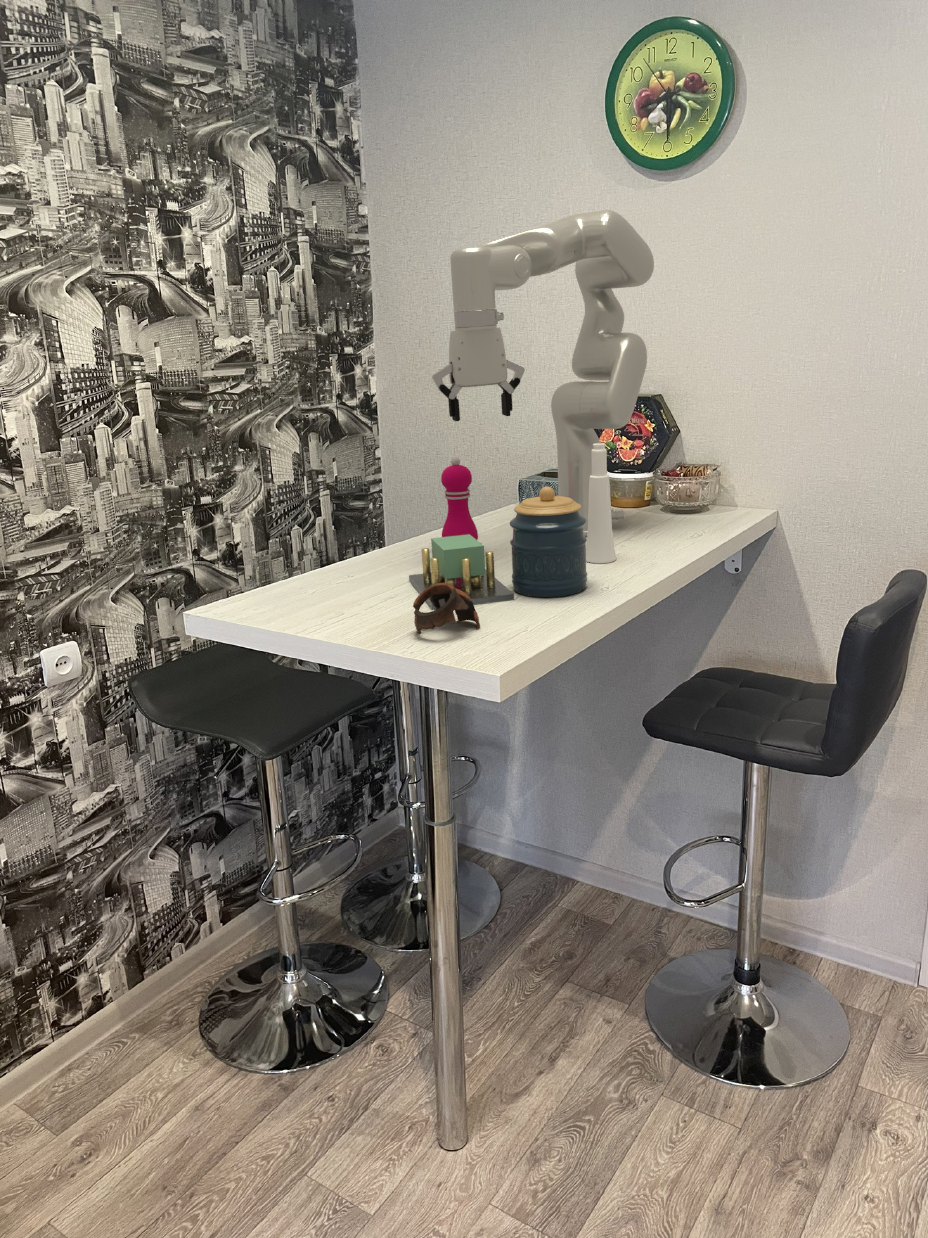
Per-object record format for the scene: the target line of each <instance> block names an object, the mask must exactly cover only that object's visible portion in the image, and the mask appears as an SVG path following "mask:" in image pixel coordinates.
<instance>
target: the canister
mask: <svg viewBox="0 0 928 1238" xmlns="http://www.w3.org/2000/svg"><path fill="white" fill-rule="evenodd" d="M538 494H539V495H538V496H534V497H530V498H526V499H523V500H522V501H521V502H520V503H519V504H517V505H516V506H514V508H513V510H514V512H515V513H516V515H515V517H514V518H512V519H511V520H510V521H509V526H510V527H511V528H512V539H511V540H510V545H511V561H512V562H511V565H512V569H511V570H512V574H511V583H512V585H513V590H514V591H515V592H516V593H518V594H520V595H524V596H528V597H534V598H556V597H557V598H559V597H565V596H571V595H575V594H578V593H580V592H583V590H585V589H586V587H587V582H588V572H587V562H586V544H587V536H584V531H583V526H584V524H585V523H586V518H585V517H583V516H582V515H580V513H579V510H580V509H581V505H580V504H578V503H576V502H575V501H573V500H572V499H571V498H569V497H563V496H558V495H556V492H555V489H554V488H553V487H552V486H543V487H542V488H540V490H539V493H538Z"/></svg>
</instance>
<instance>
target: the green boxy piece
mask: <svg viewBox="0 0 928 1238" xmlns="http://www.w3.org/2000/svg"><path fill="white" fill-rule="evenodd" d="M430 540H431V556H432V557H431V558H434V557H437V558H439V571H440V574H441V575H442V576H443V577H444V578H445V579H451V578H459V577H463V574H462V558H470V568H471V576H477V575H485V569H486V554H485V545H484V544H483V543H482V542H480V541H479V540H478V539H477V540H476V539H475V538H474V537H472V536H471V535H470V534H468V535H459V536H449V537H442V536H441V537H432V538H431V539H430ZM481 543H482V544H481Z"/></svg>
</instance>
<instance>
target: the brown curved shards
mask: <svg viewBox="0 0 928 1238" xmlns="http://www.w3.org/2000/svg"><path fill="white" fill-rule="evenodd" d="M450 593H451V596H450ZM429 598H430V601H431V602H432V603H433V605H434V606H435V608H436V609H434V610H431V611H429V612H428V611H427V612H426V611H425V612H423V611H420V609H421V608H422V606H423V604H424V603H425V602H426V600H428V599H429ZM412 607H413V609H414V611H413V614H414V617H413V618H414V621H413V622H414V626H415V630H416V631H417V633H418V634H421V633H422V630H434V629H435V628H436V627H437V628H438V627H442V626H443V625H445V624H447V623H453V624H456V623H457V622H463V621H469V622H470V621H471V622H474V623H475V624H476V628H477V629H481V623H480V618H479V614H478V612H477V610H476V608H475V604H474V605H473V602H472V601H471V599H470V597H469V596H468V595H467V594H466V593H464V592H463V591H461V590H459V589H455V587H454V586H453V585H451V584H448V583H438V584H435V585H433V586H430V587H428V588H427V589H425V590H424V591H423V592H422V593H421V594H419V595H417V597H416V598H415V599H414V601H413V605H412ZM455 615H456V617H457V619H456V617H455Z"/></svg>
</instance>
